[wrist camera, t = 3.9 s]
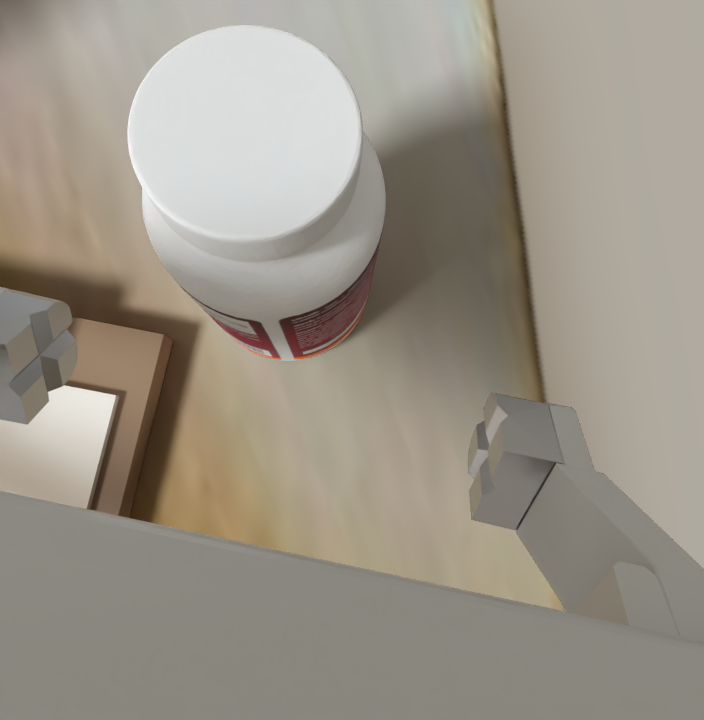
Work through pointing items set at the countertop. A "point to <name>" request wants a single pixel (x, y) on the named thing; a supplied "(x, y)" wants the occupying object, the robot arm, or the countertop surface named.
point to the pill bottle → (260, 187)
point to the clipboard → (91, 423)
